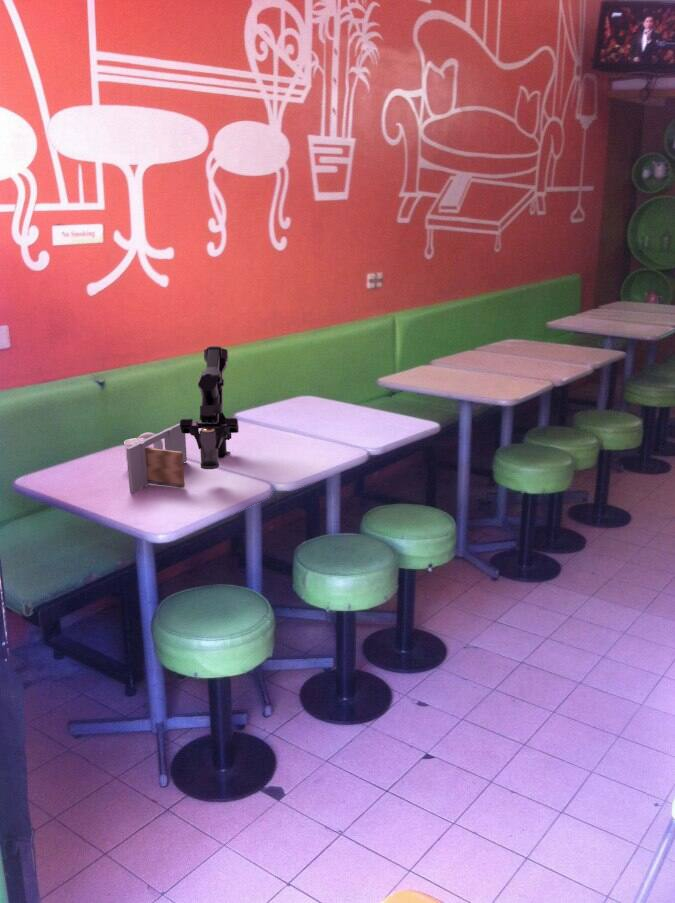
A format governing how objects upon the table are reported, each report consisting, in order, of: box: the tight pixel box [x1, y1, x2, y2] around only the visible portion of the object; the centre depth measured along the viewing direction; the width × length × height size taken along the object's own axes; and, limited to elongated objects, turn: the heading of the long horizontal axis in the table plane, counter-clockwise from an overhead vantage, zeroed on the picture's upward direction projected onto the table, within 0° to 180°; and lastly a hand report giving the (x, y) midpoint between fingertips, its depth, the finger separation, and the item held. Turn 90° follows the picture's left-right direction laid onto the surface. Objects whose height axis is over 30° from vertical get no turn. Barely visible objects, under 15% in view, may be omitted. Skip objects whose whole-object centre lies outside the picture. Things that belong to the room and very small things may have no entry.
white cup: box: [123, 437, 148, 468], centre depth 297 cm, size 8×8×10 cm
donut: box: [137, 431, 164, 450], centre depth 308 cm, size 10×3×10 cm, turn 94°
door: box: [145, 447, 186, 489], centre depth 278 cm, size 14×1×12 cm, turn 70°
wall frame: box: [126, 422, 188, 494], centre depth 288 cm, size 34×2×15 cm, turn 159°
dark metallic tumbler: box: [199, 427, 220, 470], centre depth 279 cm, size 6×6×13 cm
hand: (208, 448), depth 277 cm, fingers closed on dark metallic tumbler, 6 cm apart
